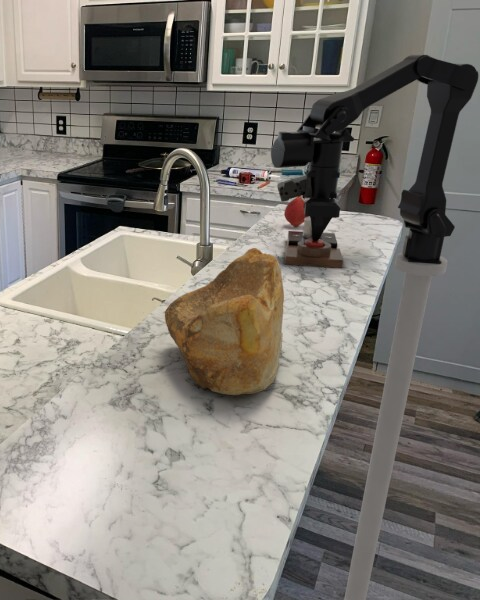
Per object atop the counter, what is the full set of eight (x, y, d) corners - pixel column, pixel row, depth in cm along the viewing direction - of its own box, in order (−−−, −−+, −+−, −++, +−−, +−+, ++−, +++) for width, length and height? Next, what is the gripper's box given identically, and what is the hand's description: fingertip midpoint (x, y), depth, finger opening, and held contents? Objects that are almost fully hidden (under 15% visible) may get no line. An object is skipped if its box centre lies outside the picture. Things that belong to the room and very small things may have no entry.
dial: (299, 234, 137) (301, 216, 136) (314, 233, 138) (317, 214, 137) (309, 239, 134) (311, 220, 132) (325, 238, 135) (327, 219, 133)
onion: (287, 230, 150) (291, 198, 147) (279, 224, 155) (283, 193, 152) (311, 229, 150) (315, 197, 147) (302, 223, 155) (306, 192, 152)
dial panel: (333, 243, 139) (334, 232, 138) (336, 254, 132) (337, 242, 131) (287, 240, 142) (288, 229, 141) (287, 251, 135) (288, 239, 134)
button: (322, 246, 129) (323, 238, 128) (323, 251, 126) (324, 243, 125) (304, 245, 130) (305, 237, 129) (305, 250, 127) (306, 242, 126)
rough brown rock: (189, 326, 102) (184, 240, 96) (294, 334, 94) (295, 242, 89) (139, 397, 83) (129, 295, 77) (265, 415, 75) (264, 304, 70)
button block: (338, 255, 131) (341, 240, 130) (342, 268, 124) (344, 251, 123) (285, 252, 134) (286, 237, 133) (285, 264, 127) (286, 248, 126)
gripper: (281, 156, 132) (275, 226, 138) (281, 172, 115) (274, 251, 121) (337, 157, 129) (327, 229, 135) (345, 174, 112) (334, 255, 118)
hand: (315, 240), depth 127 cm, fingers closed, pressing on button
